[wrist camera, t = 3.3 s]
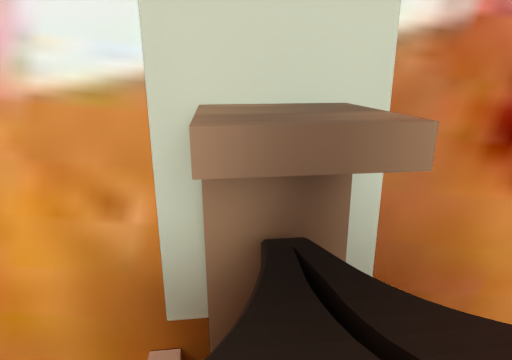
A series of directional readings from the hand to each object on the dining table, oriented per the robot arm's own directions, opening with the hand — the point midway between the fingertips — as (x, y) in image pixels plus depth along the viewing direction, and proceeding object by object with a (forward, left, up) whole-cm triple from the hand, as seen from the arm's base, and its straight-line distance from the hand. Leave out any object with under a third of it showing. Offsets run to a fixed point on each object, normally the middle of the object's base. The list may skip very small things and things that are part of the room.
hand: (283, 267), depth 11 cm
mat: (0, -3, -2) cm, 4 cm away
